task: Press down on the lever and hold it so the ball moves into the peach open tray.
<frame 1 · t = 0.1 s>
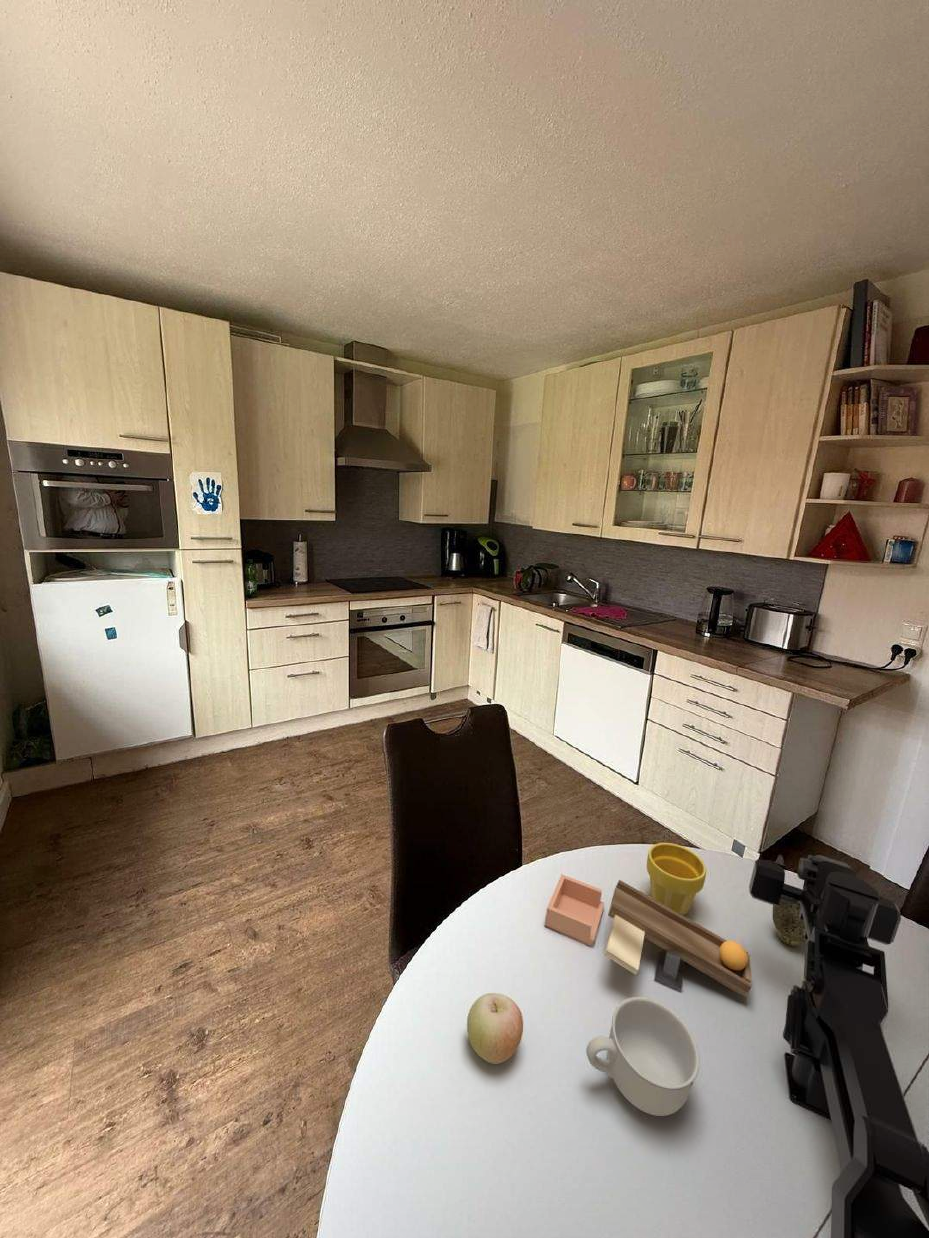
hand: (810, 867, 86), 17 cm above the table, tool horizontal, fingers open, 9 cm apart
fruit: (493, 1047, 70), on the table
lever: (675, 950, 81), point 5 cm above the table, hinge at 12.0°, touching ball
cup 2: (788, 941, 92), on the table
teacup: (632, 1082, 67), on the table
plant pot: (668, 903, 98), on the table
seesaw stand: (670, 957, 86), on the table
peach open tray: (574, 917, 93), on the table
ball: (733, 955, 81), point 5 cm above the table, tilted 11°, touching lever
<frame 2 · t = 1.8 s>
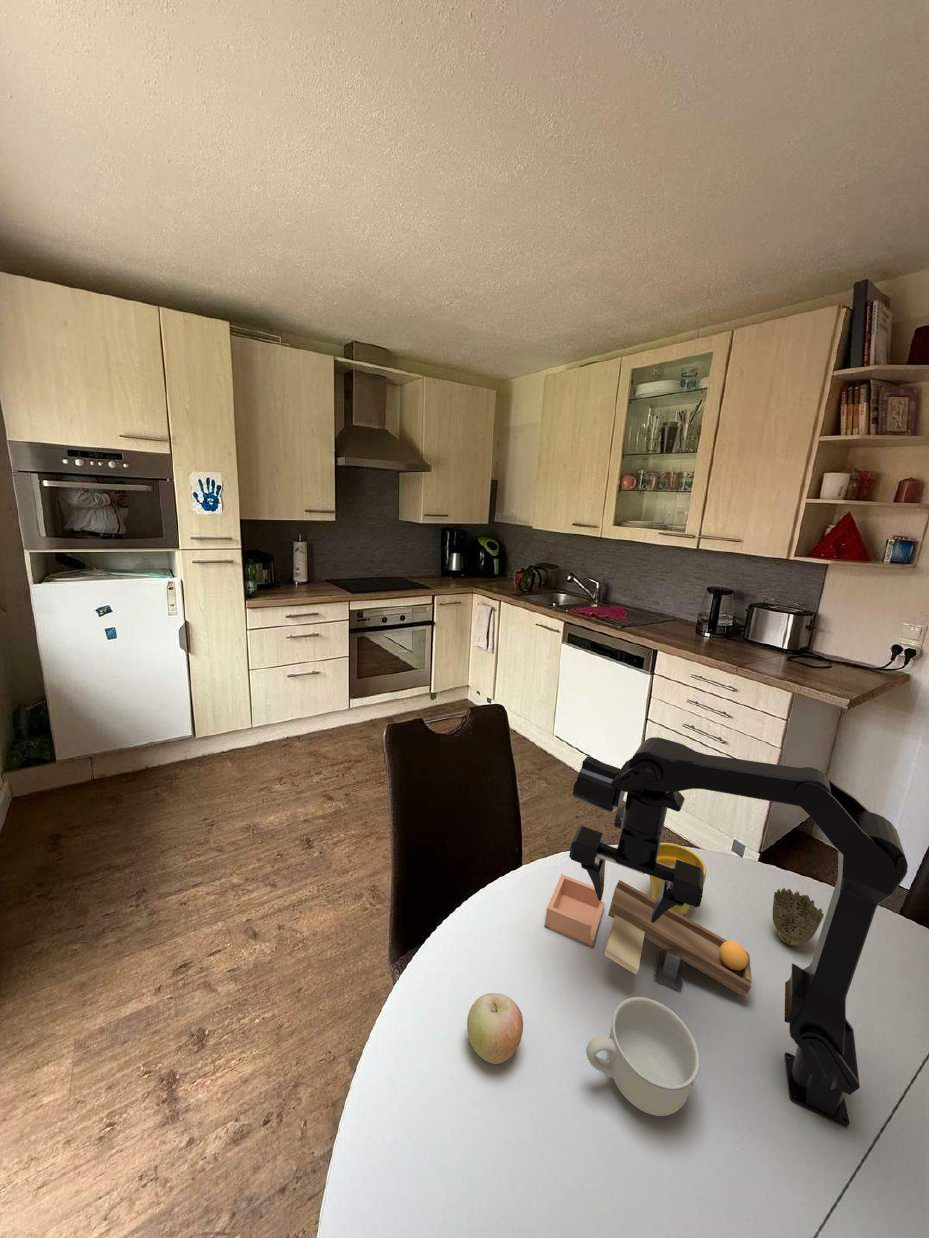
hand: (625, 909, 79), 13 cm above the table, tool pointing down, fingers open, 8 cm apart
nothing on the table moved.
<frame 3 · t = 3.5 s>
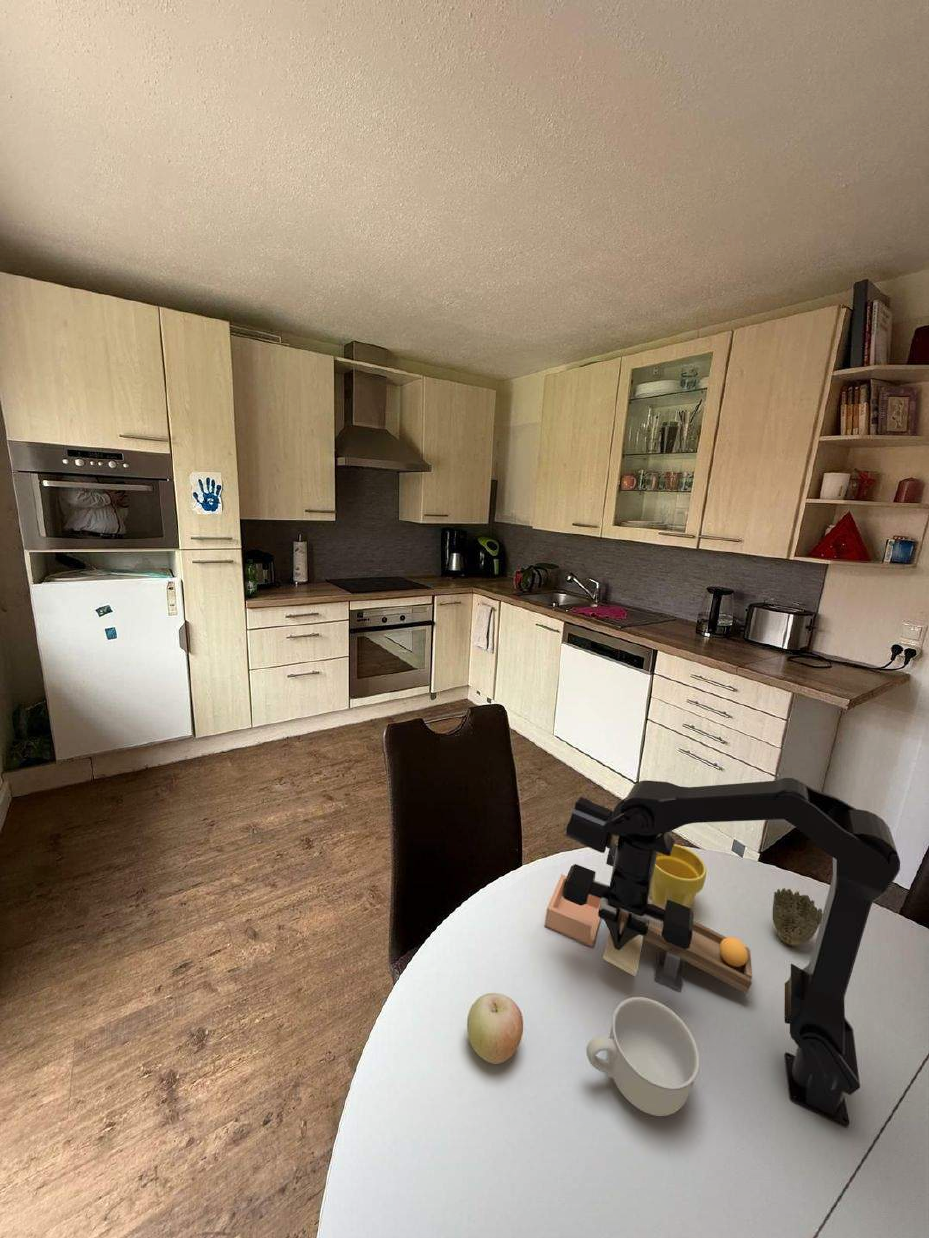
hand: (617, 947, 80), 6 cm above the table, tool pointing down, fingers closed, pressing on lever
lever: (675, 950, 81), point 5 cm above the table, hinge at 7.7°, touching ball, gripper
ball: (733, 951, 81), point 6 cm above the table, tilted 6°, touching lever
everything else where it was.
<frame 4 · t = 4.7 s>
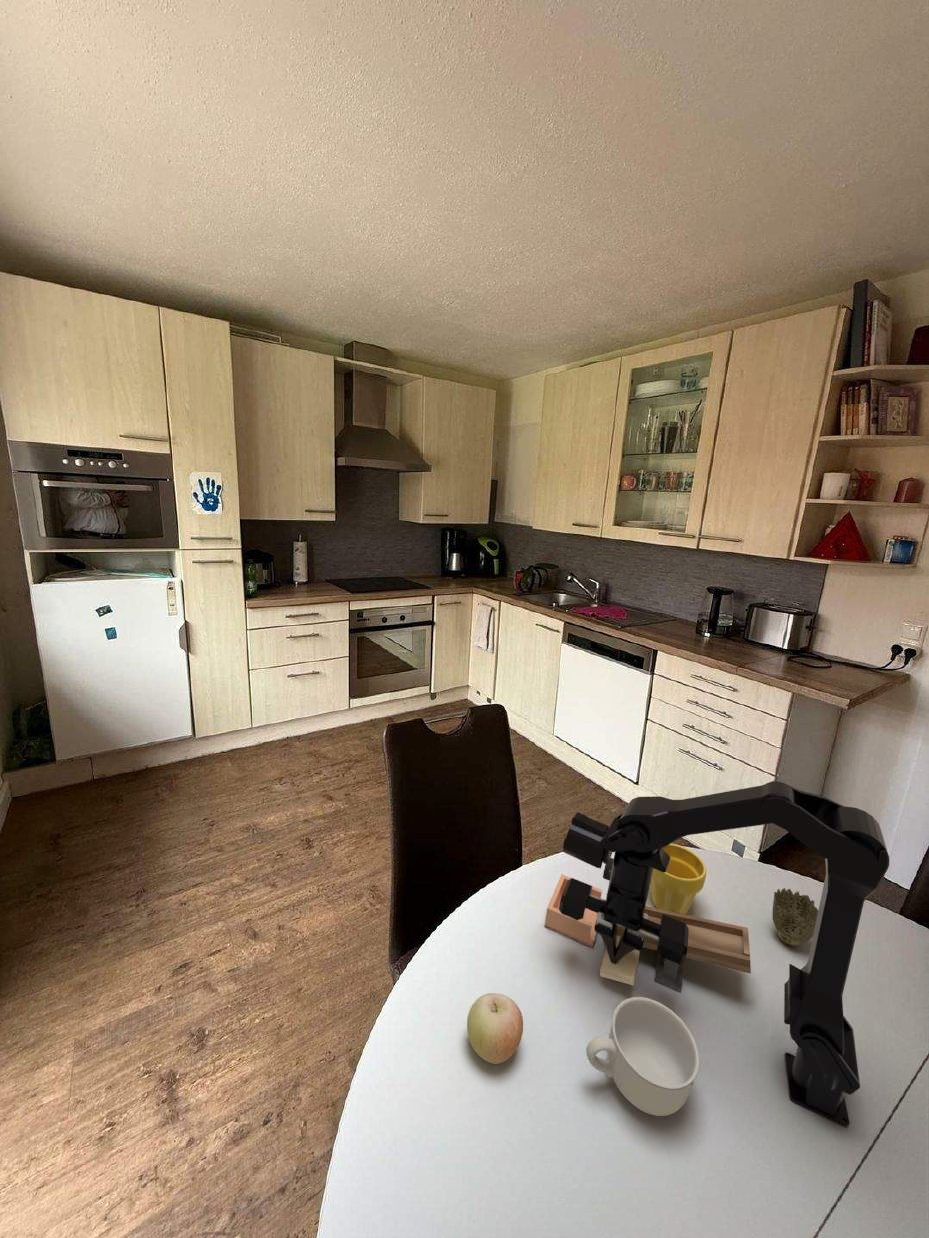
hand: (613, 960, 81), 3 cm above the table, tool pointing down, fingers closed, pressing on lever
lever: (672, 949, 81), point 5 cm above the table, hinge at -11.6°, touching gripper
ball: (572, 905, 93), point 2 cm above the table, tilted 82°, touching peach open tray
everything else where it was.
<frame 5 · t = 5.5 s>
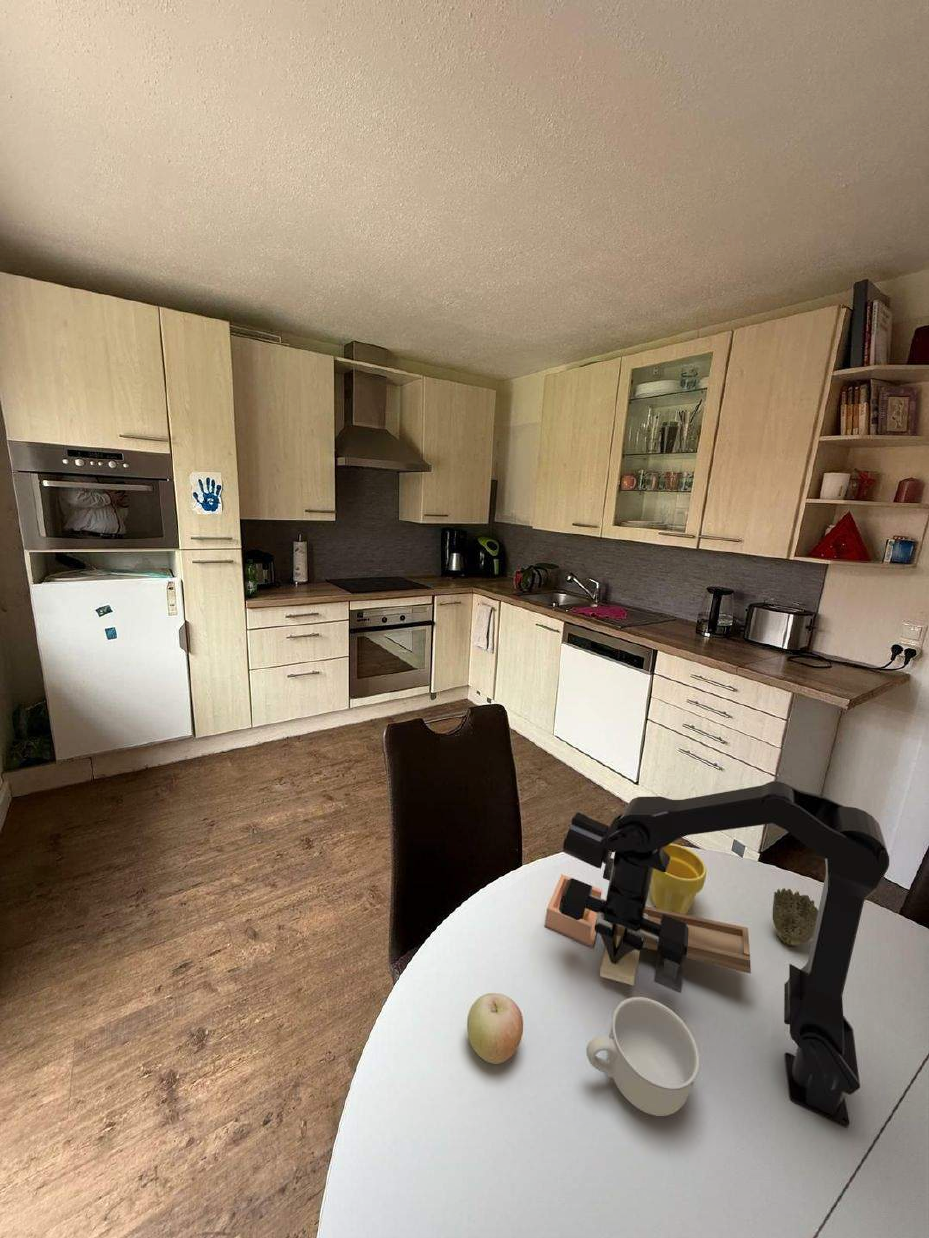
hand: (613, 960, 81), 3 cm above the table, tool pointing down, fingers closed, pressing on lever
lever: (672, 949, 81), point 5 cm above the table, hinge at -11.6°, touching gripper
ball: (578, 907, 92), point 2 cm above the table, tilted 50°, touching peach open tray
everything else where it was.
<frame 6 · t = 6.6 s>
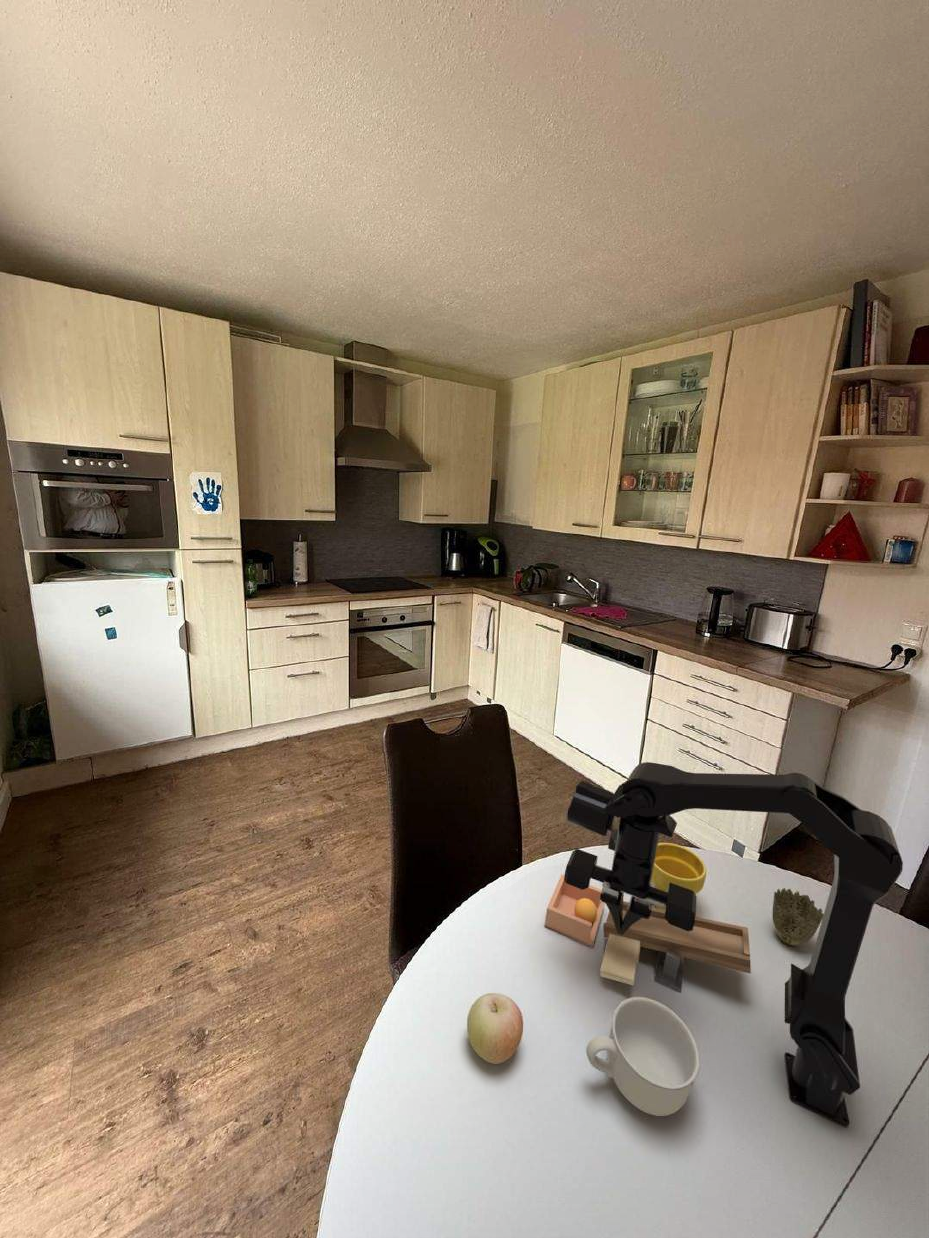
hand: (620, 931, 79), 9 cm above the table, tool pointing down, fingers closed
lever: (672, 949, 81), point 5 cm above the table, hinge at -11.6°
ball: (585, 910, 92), point 2 cm above the table, tilted 13°, touching peach open tray
everything else where it was.
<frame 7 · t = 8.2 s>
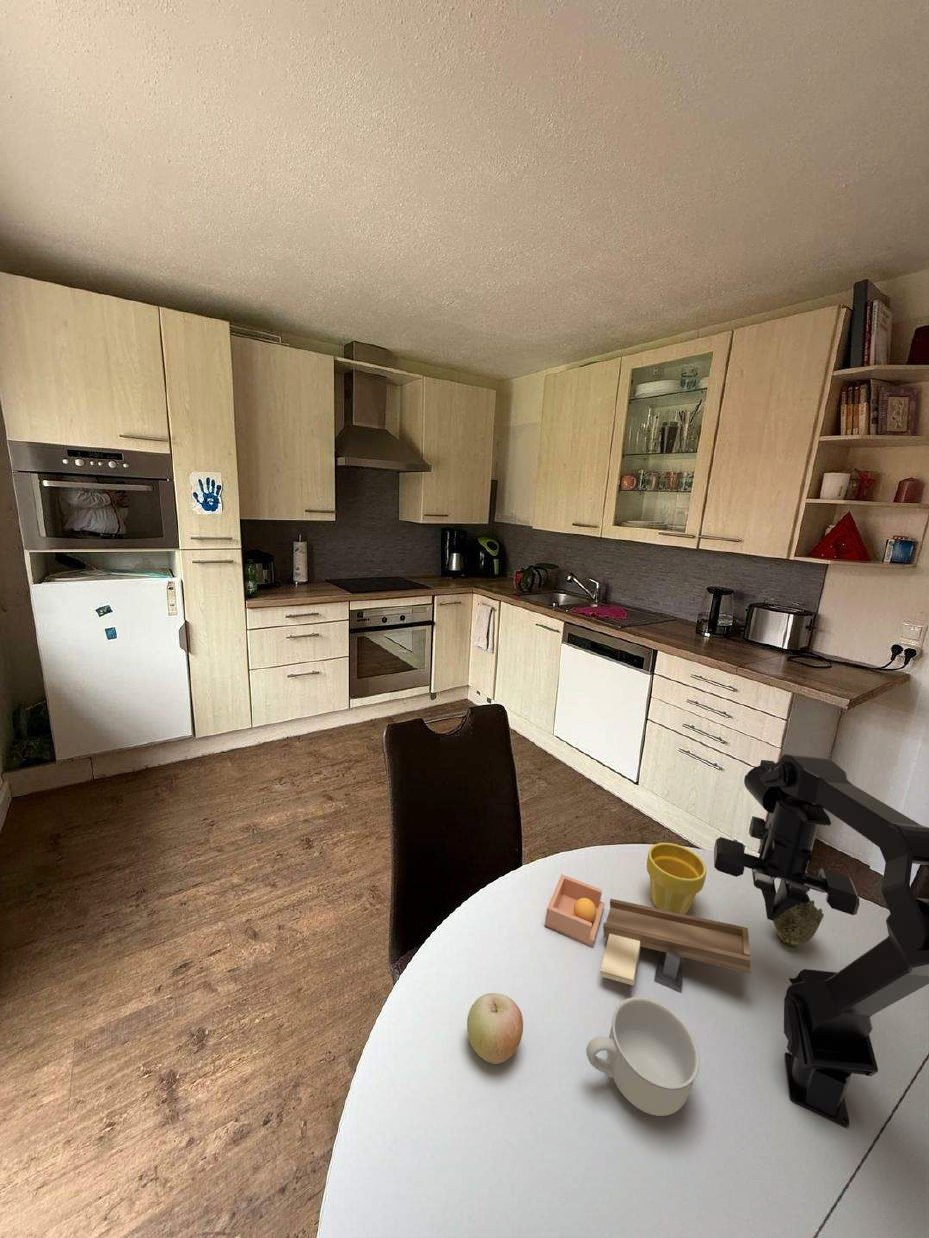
hand: (769, 917, 81), 12 cm above the table, tool pointing down, fingers closed
nothing on the table moved.
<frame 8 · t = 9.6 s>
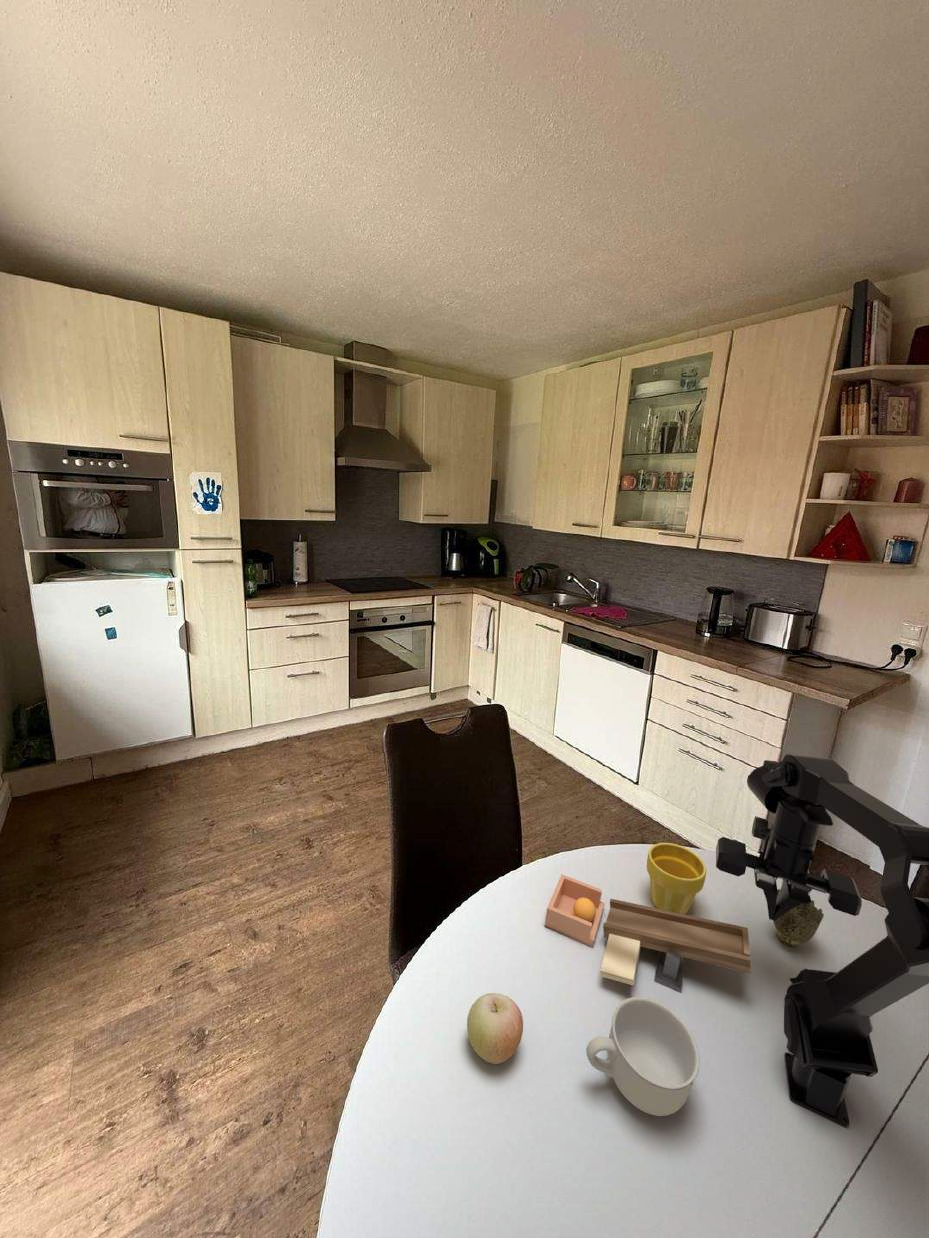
hand: (771, 918, 81), 12 cm above the table, tool pointing down, fingers closed
nothing on the table moved.
at the end: ball inside the target area on the peach open tray (1.5 cm from its centre), point 2.4 cm above the peach open tray's base; lever at -12° (first picture: +12°) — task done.
